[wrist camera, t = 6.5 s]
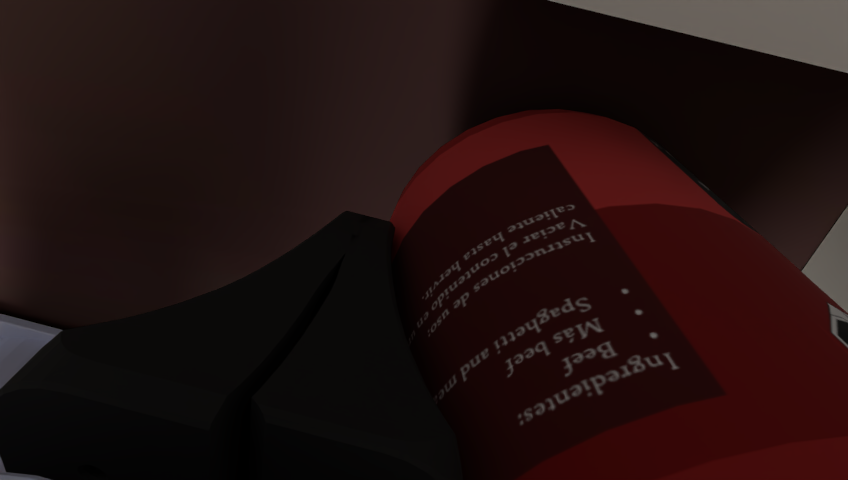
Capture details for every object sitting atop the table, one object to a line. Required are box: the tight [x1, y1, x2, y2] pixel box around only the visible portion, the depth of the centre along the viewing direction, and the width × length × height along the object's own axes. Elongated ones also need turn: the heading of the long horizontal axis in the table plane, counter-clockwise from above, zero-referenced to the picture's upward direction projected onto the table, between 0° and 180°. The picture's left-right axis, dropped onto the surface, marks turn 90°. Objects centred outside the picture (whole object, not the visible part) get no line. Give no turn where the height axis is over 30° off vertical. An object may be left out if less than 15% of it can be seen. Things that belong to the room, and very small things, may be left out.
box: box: [549, 0, 848, 313], centre depth 14 cm, size 14×13×4 cm
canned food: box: [390, 109, 848, 480], centre depth 11 cm, size 8×8×11 cm
